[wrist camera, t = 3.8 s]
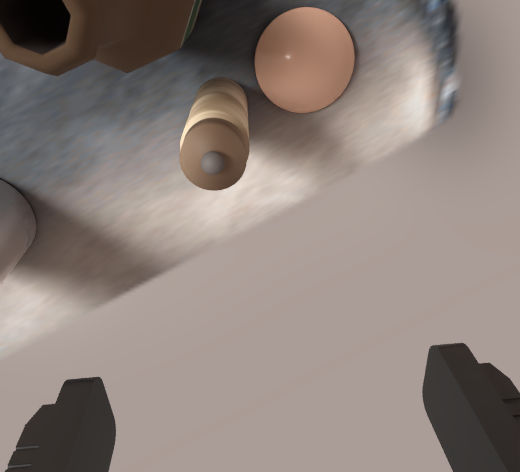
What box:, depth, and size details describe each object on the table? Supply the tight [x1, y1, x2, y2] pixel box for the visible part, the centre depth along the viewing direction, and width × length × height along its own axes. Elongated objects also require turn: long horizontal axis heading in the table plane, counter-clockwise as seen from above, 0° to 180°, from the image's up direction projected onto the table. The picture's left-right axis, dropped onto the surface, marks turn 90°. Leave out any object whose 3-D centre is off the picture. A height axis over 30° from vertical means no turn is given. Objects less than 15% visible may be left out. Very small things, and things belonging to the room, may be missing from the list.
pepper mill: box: [180, 78, 249, 190], centre depth 33 cm, size 4×4×14 cm
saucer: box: [255, 7, 355, 113], centre depth 37 cm, size 8×8×1 cm
